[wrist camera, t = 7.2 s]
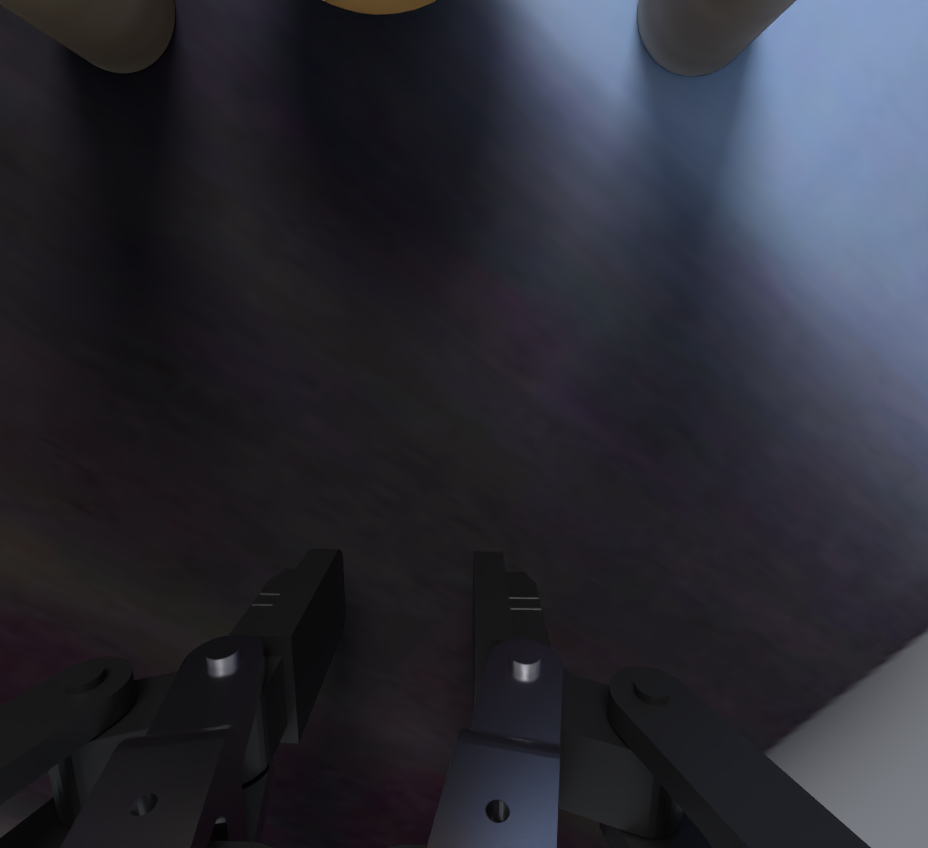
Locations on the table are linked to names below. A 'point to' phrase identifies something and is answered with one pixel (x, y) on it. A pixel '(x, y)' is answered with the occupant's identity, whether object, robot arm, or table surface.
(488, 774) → the robot arm
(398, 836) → the table surface
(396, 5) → the ball
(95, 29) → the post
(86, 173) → the table surface
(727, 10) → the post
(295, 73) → the table surface
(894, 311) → the table surface
